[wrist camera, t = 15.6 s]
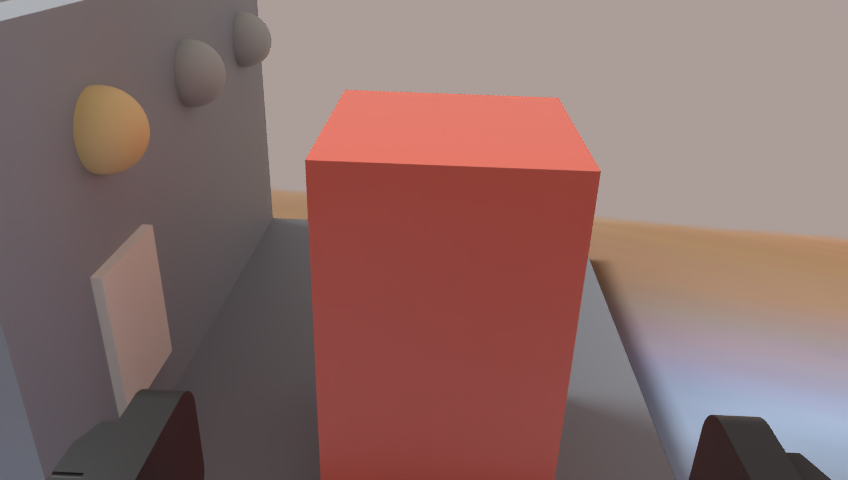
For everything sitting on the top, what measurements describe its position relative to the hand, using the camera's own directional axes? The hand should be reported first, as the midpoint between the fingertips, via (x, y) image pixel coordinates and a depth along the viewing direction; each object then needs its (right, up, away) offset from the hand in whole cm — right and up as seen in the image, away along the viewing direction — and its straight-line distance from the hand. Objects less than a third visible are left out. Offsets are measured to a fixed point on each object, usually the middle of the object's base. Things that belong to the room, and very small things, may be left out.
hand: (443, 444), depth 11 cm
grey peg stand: (-1, -2, +16) cm, 16 cm away
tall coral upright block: (0, -3, +10) cm, 10 cm away
